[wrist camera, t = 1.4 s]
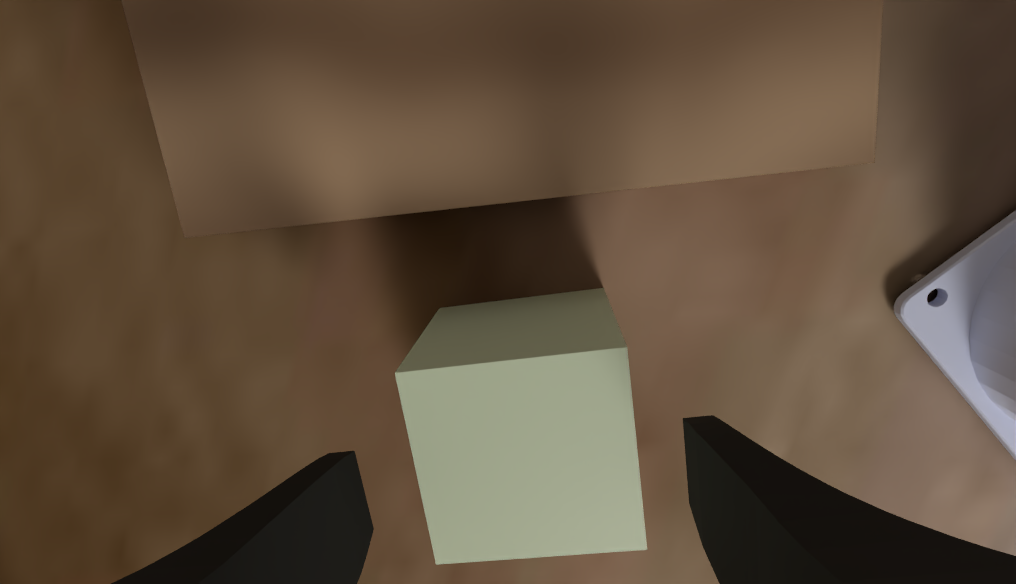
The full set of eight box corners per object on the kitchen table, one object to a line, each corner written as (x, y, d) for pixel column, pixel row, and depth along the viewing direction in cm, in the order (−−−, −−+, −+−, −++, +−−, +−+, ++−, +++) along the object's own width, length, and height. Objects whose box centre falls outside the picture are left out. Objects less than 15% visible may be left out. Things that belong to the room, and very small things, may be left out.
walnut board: (131, -111, 14) (83, -141, 13) (857, -243, 12) (899, -296, 11) (217, 230, 16) (184, 238, 15) (841, 161, 14) (874, 162, 13)
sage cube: (603, 287, 16) (627, 346, 11) (619, 437, 17) (647, 549, 12) (439, 307, 16) (394, 372, 12) (466, 451, 18) (436, 564, 13)
